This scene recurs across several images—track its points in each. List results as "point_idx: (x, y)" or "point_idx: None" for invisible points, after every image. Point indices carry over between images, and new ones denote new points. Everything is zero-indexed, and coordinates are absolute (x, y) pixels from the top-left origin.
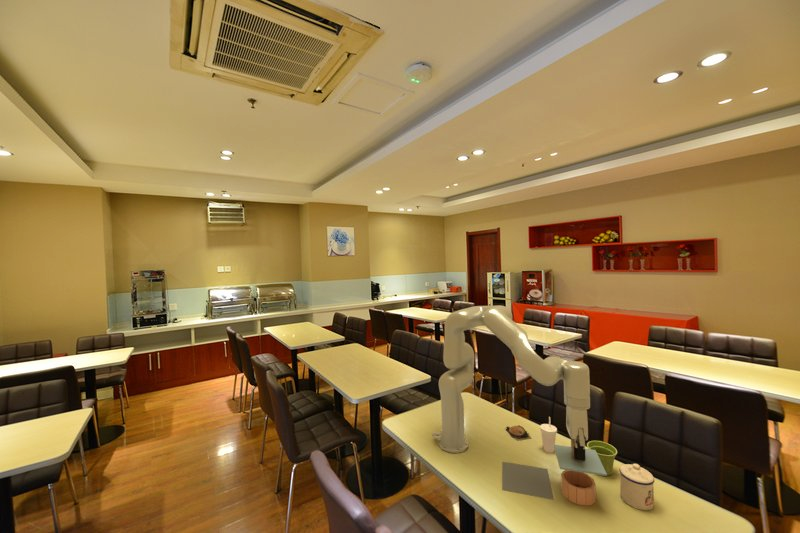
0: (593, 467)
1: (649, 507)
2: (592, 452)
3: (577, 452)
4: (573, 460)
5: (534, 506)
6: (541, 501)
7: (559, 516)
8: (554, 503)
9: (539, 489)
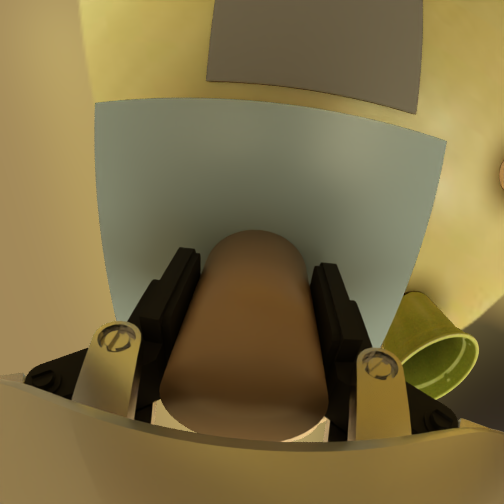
0: None
1: None
2: None
3: (136, 307)
4: (214, 231)
5: (164, 12)
6: (197, 35)
7: (132, 92)
8: (195, 81)
9: (262, 34)
